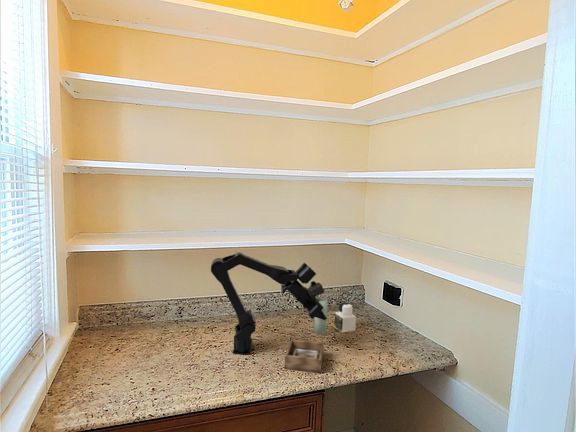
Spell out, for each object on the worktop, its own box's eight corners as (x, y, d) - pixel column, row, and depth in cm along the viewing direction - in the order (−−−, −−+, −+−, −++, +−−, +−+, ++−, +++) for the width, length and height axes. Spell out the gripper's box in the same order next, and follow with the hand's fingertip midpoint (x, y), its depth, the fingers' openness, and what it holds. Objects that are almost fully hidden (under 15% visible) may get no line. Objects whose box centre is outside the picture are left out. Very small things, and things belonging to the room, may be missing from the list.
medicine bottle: (334, 326, 164) (335, 302, 163) (347, 324, 166) (348, 300, 165) (341, 333, 157) (342, 307, 156) (355, 331, 160) (356, 305, 159)
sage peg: (313, 334, 142) (314, 300, 141) (314, 329, 147) (315, 296, 146) (325, 335, 142) (327, 301, 140) (326, 330, 146) (327, 297, 145)
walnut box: (284, 369, 126) (284, 355, 126) (290, 351, 139) (290, 339, 139) (320, 373, 124) (321, 359, 123) (323, 355, 137) (323, 343, 136)
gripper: (318, 284, 132) (345, 311, 135) (307, 271, 150) (331, 295, 154) (297, 305, 132) (325, 331, 135) (289, 289, 150) (313, 313, 153)
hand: (324, 316), depth 144 cm, fingers closed on sage peg, 5 cm apart
